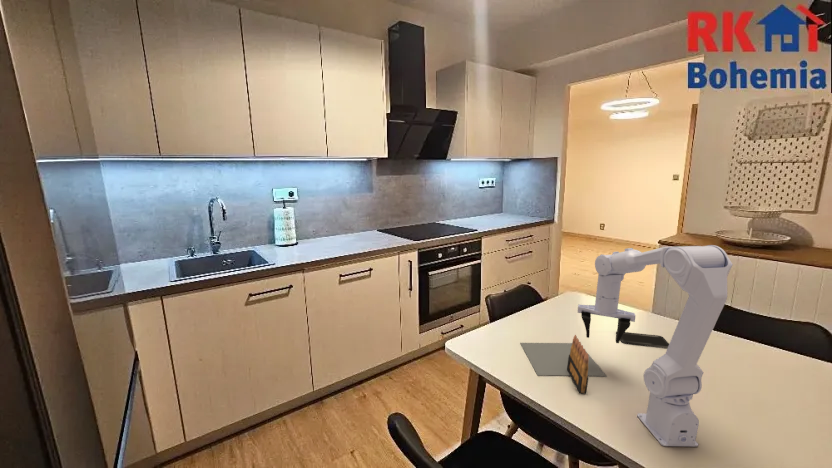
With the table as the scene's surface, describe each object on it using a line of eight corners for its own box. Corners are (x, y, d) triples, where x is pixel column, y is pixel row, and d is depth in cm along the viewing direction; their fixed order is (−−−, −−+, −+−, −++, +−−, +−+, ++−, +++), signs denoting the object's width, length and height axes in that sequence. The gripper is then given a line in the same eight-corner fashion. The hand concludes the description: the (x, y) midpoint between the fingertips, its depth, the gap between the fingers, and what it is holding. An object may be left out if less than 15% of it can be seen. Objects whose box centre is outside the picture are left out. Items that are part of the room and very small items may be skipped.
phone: (615, 331, 125) (662, 335, 121) (614, 333, 125) (661, 338, 121) (622, 341, 117) (672, 347, 114) (622, 344, 117) (672, 350, 114)
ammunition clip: (566, 368, 103) (571, 333, 100) (573, 369, 102) (577, 333, 99) (579, 393, 92) (584, 354, 89) (586, 394, 92) (592, 355, 89)
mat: (606, 376, 100) (606, 375, 100) (537, 375, 100) (537, 374, 100) (578, 343, 117) (579, 343, 117) (520, 343, 118) (520, 342, 118)
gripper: (635, 294, 99) (629, 337, 102) (579, 287, 105) (575, 328, 107) (638, 303, 92) (632, 349, 95) (579, 295, 98) (575, 338, 101)
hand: (602, 338), depth 101 cm, fingers open, 7 cm apart
